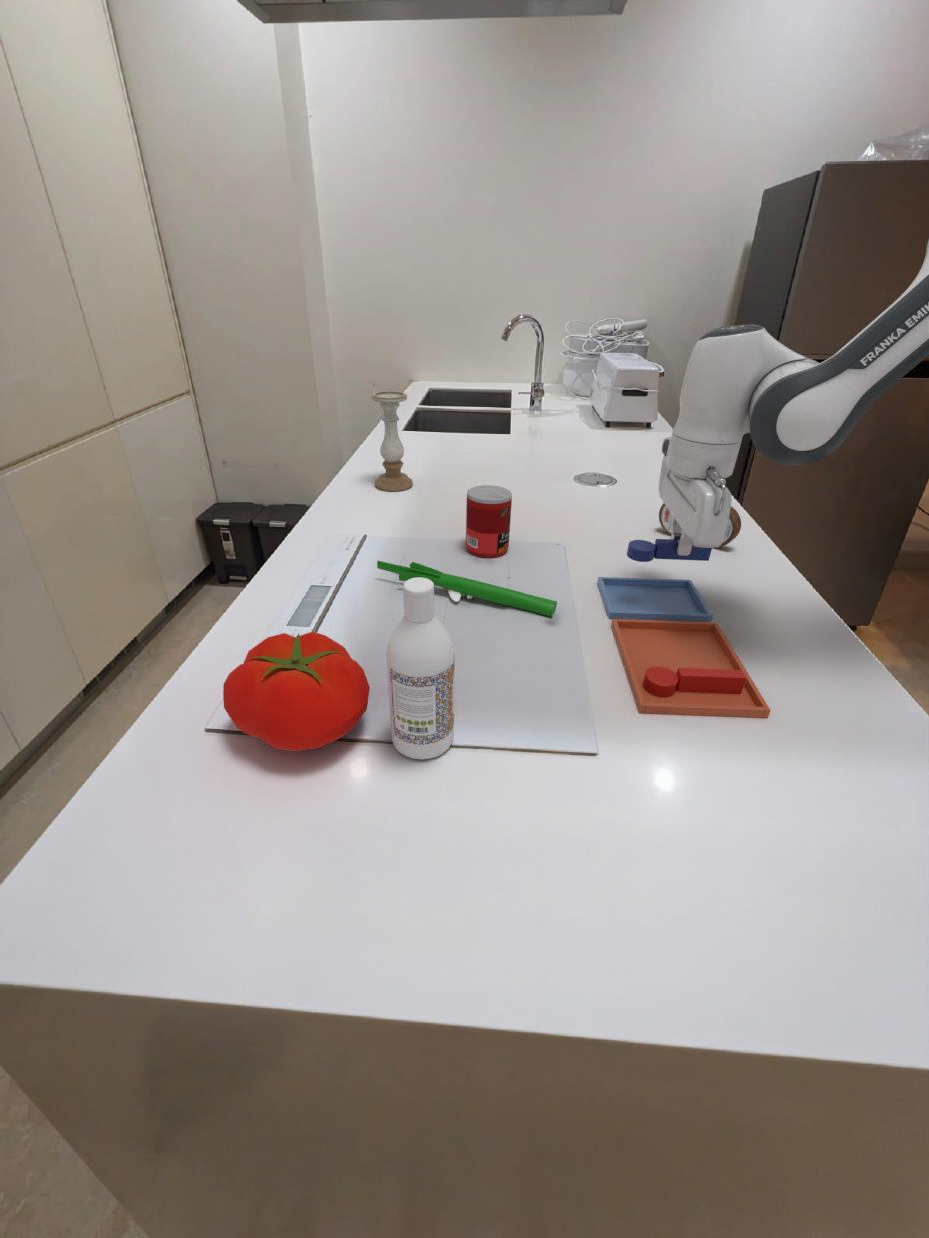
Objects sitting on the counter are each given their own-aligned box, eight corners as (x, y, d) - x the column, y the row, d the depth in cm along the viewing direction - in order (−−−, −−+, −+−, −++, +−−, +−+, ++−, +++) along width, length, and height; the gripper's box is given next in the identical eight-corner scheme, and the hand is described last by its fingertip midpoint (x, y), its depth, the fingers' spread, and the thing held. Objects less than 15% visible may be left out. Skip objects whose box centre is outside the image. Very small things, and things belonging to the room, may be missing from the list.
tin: (735, 548, 109) (747, 506, 105) (729, 554, 107) (742, 511, 103) (659, 527, 117) (668, 487, 113) (653, 532, 115) (661, 491, 111)
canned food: (506, 560, 104) (510, 501, 98) (462, 556, 105) (463, 498, 99) (510, 542, 110) (514, 486, 104) (468, 539, 111) (470, 483, 105)
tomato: (316, 792, 59) (304, 718, 53) (205, 734, 65) (184, 664, 60) (397, 710, 69) (394, 642, 64) (295, 668, 76) (284, 603, 71)
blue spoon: (703, 552, 89) (707, 537, 87) (711, 564, 85) (715, 548, 84) (624, 549, 89) (627, 534, 88) (629, 561, 86) (632, 545, 84)
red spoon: (733, 680, 75) (738, 664, 73) (744, 700, 71) (750, 683, 70) (639, 676, 75) (643, 660, 74) (646, 696, 72) (650, 680, 70)
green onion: (555, 613, 90) (384, 569, 98) (558, 596, 88) (384, 551, 97) (547, 630, 86) (370, 582, 95) (550, 611, 84) (369, 564, 93)
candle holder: (420, 485, 136) (418, 394, 125) (391, 494, 131) (386, 400, 120) (395, 476, 141) (391, 388, 130) (367, 485, 136) (360, 394, 125)
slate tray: (688, 588, 96) (690, 579, 95) (710, 624, 87) (713, 615, 86) (596, 585, 97) (598, 576, 96) (608, 621, 87) (610, 612, 86)
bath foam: (460, 755, 63) (463, 597, 53) (397, 767, 62) (387, 606, 51) (446, 714, 69) (446, 564, 58) (388, 723, 67) (377, 571, 57)
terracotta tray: (714, 631, 85) (717, 622, 84) (766, 720, 69) (770, 710, 68) (610, 627, 86) (612, 618, 85) (638, 715, 69) (641, 705, 68)
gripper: (754, 483, 70) (724, 583, 78) (702, 437, 87) (681, 523, 95) (701, 482, 70) (676, 581, 78) (659, 436, 88) (643, 521, 95)
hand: (679, 549), depth 86 cm, fingers closed on blue spoon
